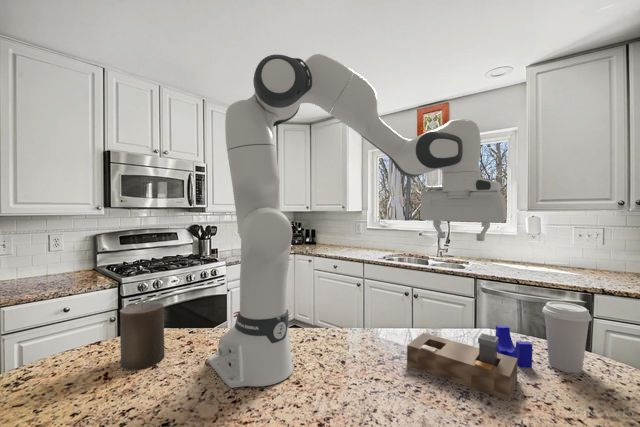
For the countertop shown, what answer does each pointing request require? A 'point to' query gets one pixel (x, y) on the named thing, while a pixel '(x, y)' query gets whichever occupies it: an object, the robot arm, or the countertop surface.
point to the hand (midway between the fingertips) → (460, 239)
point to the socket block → (463, 365)
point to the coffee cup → (566, 335)
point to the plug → (488, 349)
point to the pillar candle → (142, 335)
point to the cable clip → (513, 347)
